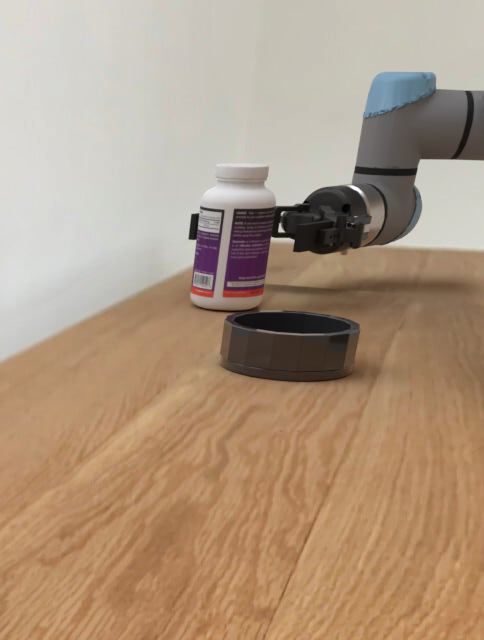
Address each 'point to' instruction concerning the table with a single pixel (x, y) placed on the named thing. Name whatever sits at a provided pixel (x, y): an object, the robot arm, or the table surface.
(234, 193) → the pill bottle
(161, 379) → the table surface
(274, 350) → the ring
